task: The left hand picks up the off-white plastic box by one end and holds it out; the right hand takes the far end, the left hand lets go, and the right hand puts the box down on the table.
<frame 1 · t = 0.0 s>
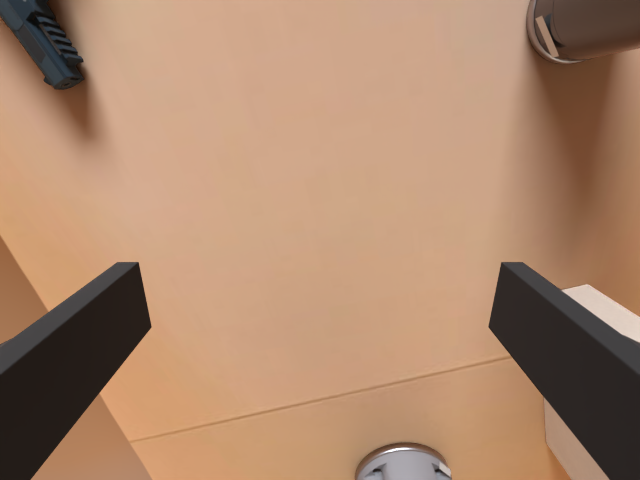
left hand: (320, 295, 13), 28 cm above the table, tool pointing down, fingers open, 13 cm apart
box: (564, 371, 49), on the table
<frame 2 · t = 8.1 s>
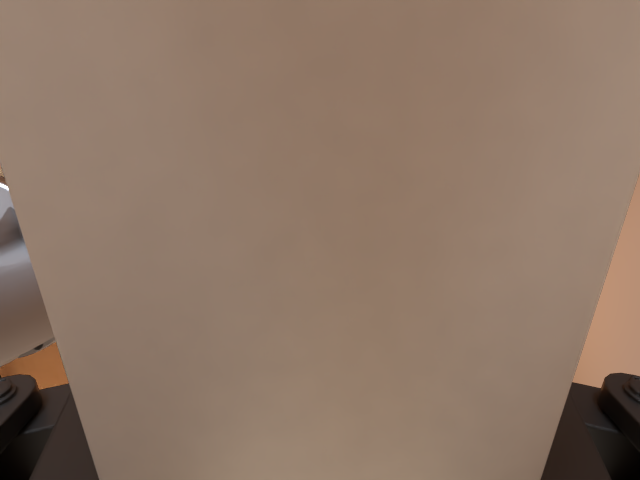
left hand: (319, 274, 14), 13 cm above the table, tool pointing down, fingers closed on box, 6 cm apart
box: (320, 23, 14), point 10 cm above the table, touching left hand, right hand
when the left hand's fingers open (13 cm above the table, at t = 9.2 s): box stays where it is, held by the right hand.
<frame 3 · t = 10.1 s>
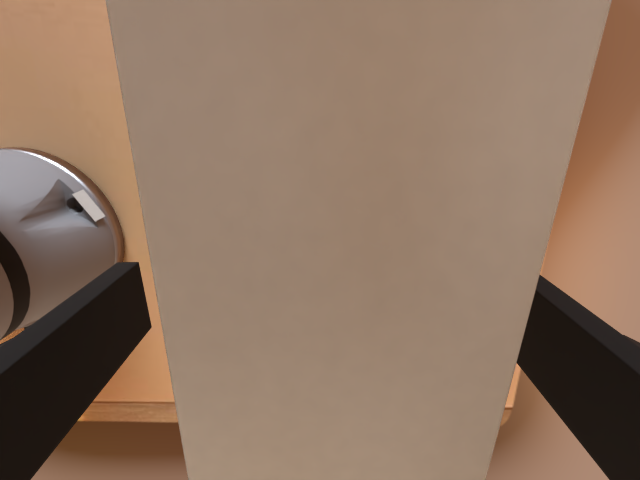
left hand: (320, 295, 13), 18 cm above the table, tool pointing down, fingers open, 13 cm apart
box: (334, 2, 15), point 12 cm above the table, touching right hand
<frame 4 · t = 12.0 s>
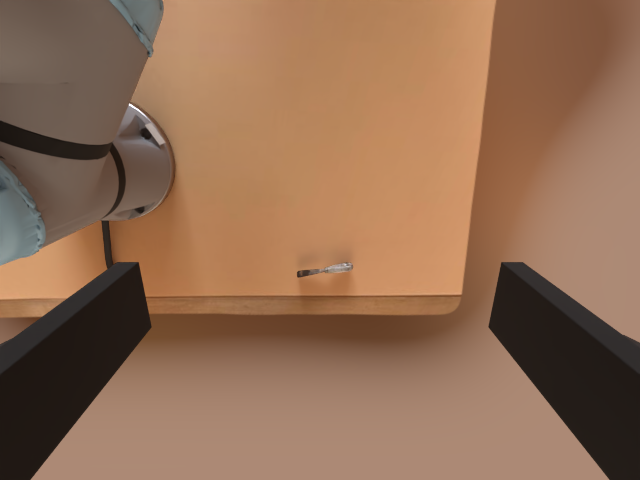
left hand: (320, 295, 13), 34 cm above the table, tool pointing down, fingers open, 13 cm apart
putty knife: (324, 267, 49), on the table
when the right hand's fingers open (9 cm above the table, at t = 15.8 s): box drops 1 cm, on the table.
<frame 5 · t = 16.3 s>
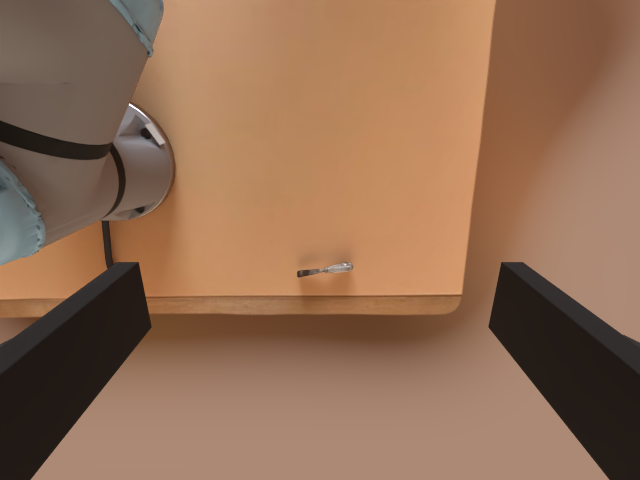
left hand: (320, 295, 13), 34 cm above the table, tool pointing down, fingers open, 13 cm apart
putty knife: (325, 267, 49), on the table
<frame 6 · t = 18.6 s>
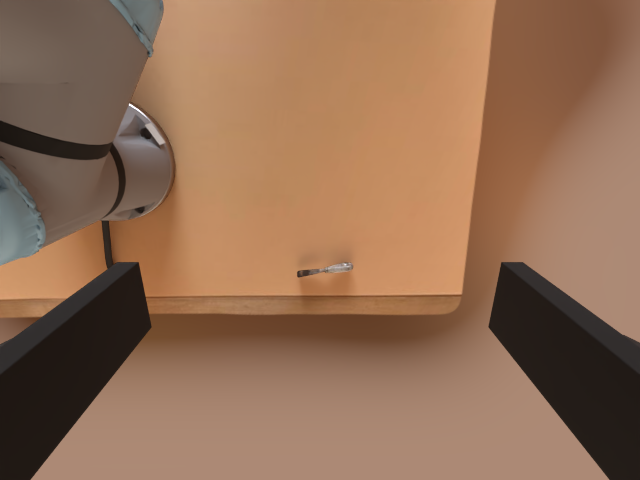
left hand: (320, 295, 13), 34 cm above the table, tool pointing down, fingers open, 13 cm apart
putty knife: (325, 267, 49), on the table
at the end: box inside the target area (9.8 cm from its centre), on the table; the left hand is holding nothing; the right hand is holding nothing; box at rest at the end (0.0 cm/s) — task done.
